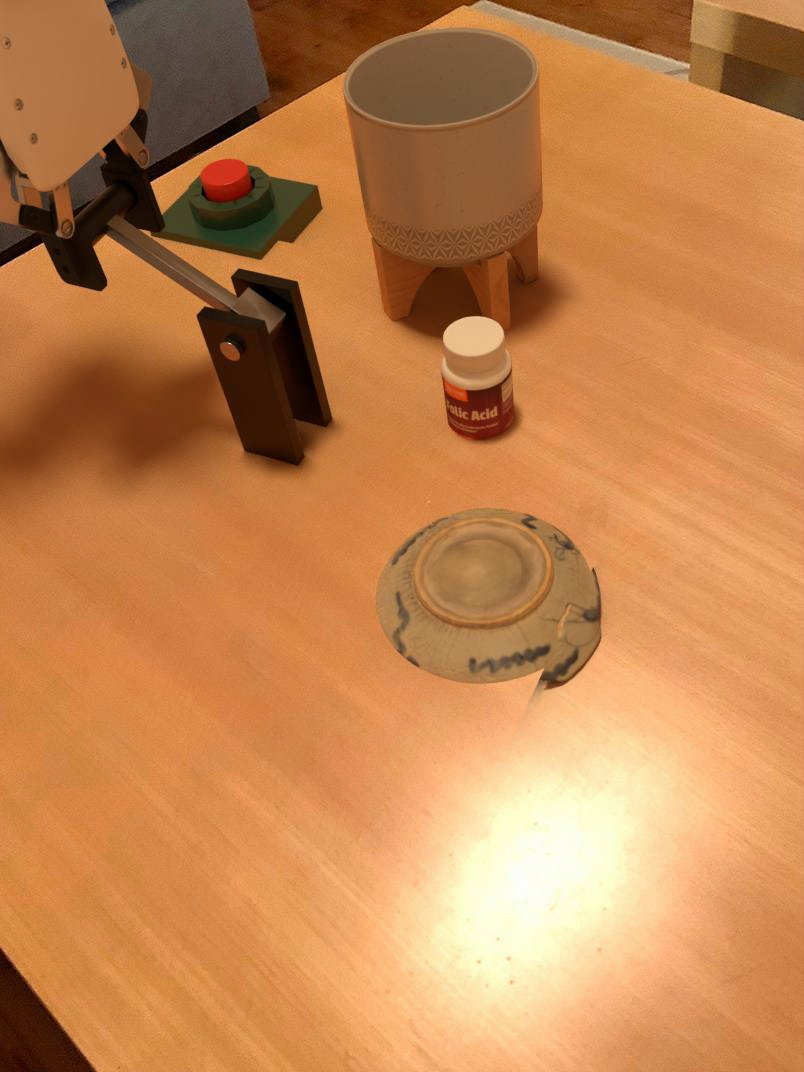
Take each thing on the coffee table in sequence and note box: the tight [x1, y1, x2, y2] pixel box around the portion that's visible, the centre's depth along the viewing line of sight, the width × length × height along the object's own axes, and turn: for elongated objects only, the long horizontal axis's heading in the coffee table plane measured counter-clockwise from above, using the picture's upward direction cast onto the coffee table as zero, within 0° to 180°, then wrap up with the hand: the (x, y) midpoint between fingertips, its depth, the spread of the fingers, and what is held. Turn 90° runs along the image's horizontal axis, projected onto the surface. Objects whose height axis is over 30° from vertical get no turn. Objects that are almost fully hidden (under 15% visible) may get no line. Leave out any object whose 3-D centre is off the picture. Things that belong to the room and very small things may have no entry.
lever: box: [73, 179, 286, 343], centre depth 65 cm, size 13×6×2 cm, turn 66°
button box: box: [149, 164, 323, 261], centre depth 89 cm, size 11×10×4 cm
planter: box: [342, 26, 544, 332], centre depth 76 cm, size 13×13×18 cm
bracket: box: [195, 267, 333, 467], centre depth 69 cm, size 12×9×13 cm
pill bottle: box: [440, 315, 516, 441], centre depth 71 cm, size 5×5×8 cm
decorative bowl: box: [375, 507, 602, 685], centre depth 64 cm, size 15×4×15 cm
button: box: [199, 158, 253, 203], centre depth 87 cm, size 4×4×2 cm
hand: (114, 252), depth 66 cm, fingers closed on lever, 5 cm apart
